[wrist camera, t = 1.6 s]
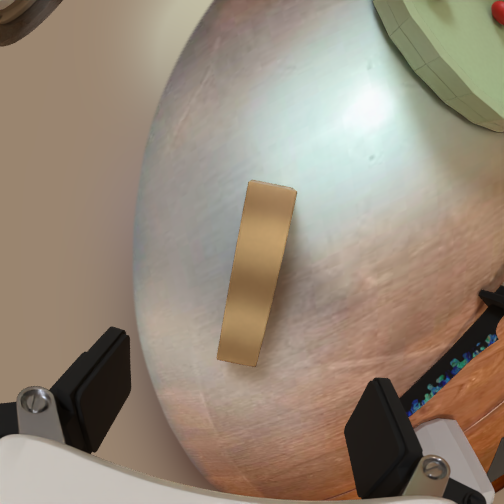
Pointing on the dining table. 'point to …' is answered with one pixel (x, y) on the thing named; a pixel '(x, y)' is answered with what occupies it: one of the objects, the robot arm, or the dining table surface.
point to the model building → (497, 463)
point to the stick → (255, 270)
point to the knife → (458, 353)
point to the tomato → (498, 11)
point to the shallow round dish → (453, 52)
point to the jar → (455, 454)
